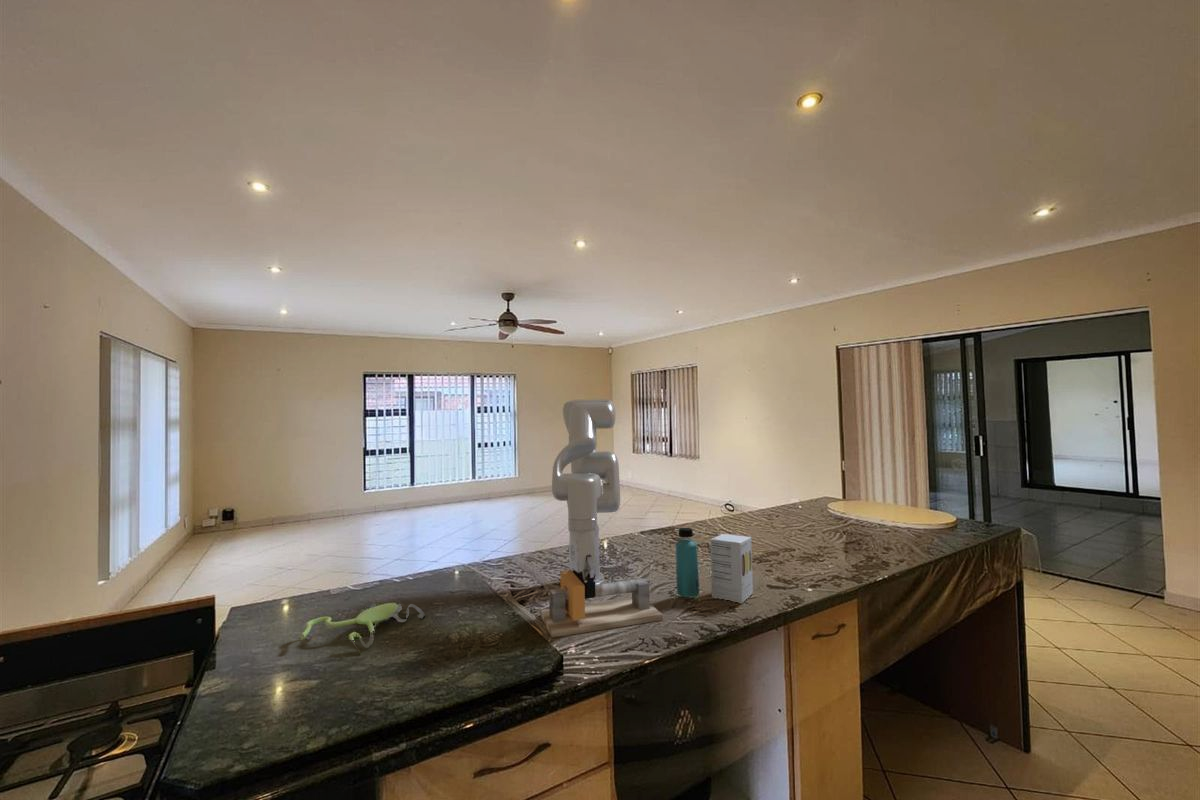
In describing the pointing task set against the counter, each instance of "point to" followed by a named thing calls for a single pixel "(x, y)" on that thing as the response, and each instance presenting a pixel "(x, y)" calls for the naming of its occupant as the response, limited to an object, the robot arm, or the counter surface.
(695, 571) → the beverage bottle
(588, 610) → the pipe rig
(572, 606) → the brown slab
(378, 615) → the figurine
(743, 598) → the supplement box
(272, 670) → the counter surface
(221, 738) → the counter surface
